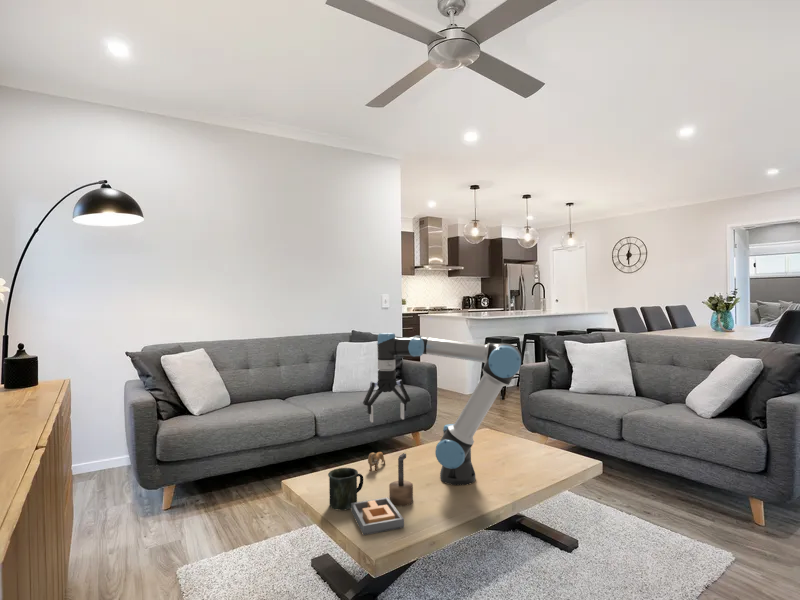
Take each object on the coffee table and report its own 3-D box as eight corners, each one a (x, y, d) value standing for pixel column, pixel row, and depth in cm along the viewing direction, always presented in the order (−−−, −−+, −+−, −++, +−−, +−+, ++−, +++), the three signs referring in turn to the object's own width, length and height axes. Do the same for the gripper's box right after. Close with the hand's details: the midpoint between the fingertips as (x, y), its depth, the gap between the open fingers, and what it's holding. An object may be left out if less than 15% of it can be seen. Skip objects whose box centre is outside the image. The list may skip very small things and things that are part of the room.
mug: (322, 504, 166) (322, 472, 166) (354, 493, 175) (354, 463, 175) (338, 514, 157) (338, 480, 158) (371, 502, 167) (370, 470, 167)
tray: (387, 505, 164) (387, 497, 164) (403, 527, 147) (403, 518, 147) (351, 511, 160) (351, 503, 160) (363, 535, 143) (363, 525, 143)
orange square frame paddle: (359, 510, 159) (359, 502, 159) (382, 507, 162) (382, 498, 162) (369, 529, 145) (369, 519, 145) (394, 524, 148) (394, 515, 148)
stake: (395, 494, 174) (395, 449, 174) (416, 498, 170) (416, 452, 171) (385, 503, 166) (384, 456, 166) (406, 507, 162) (406, 460, 162)
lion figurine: (376, 475, 195) (376, 454, 195) (365, 473, 196) (365, 453, 196) (387, 463, 209) (386, 444, 209) (376, 462, 210) (376, 443, 210)
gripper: (359, 372, 178) (360, 425, 177) (417, 369, 186) (418, 419, 185) (355, 370, 185) (356, 420, 184) (411, 366, 193) (411, 415, 192)
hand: (387, 420), depth 185 cm, fingers open, 13 cm apart
